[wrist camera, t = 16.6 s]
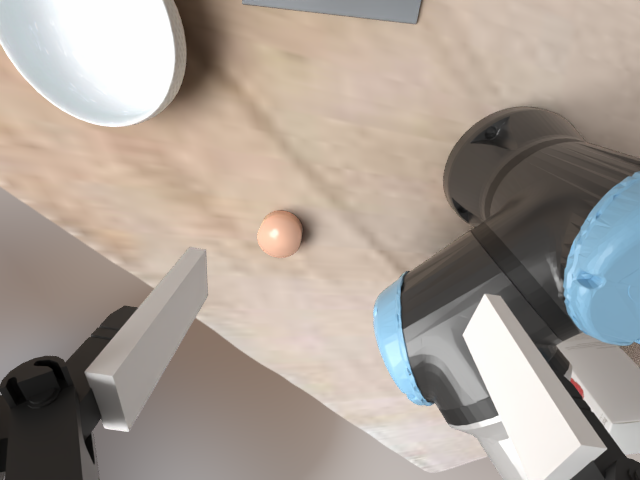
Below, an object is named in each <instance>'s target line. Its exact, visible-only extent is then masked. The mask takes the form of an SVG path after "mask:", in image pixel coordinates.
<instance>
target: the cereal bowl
mask: <svg viewBox="0 0 640 480" xmlns="http://www.w3.org/2000/svg"><path fill="white" fill-rule="evenodd" d="M0 43H1V45H2V47H3V49H4V50H5V52H6V54H7V55H8V57H9V58H10V60H11V61H12V63H13V64H14V65H15V67H16V68H17V70H18V71H19V72H20V73H21V74H22V76H23V77H24V78H25V79H26V80H27V81H28V82H29V83H30V84H31V85H32V86H33V87H34V88H35V89H36V90H37V91H38V92H39V93H40V94H41V95H42V96H44V97H45V98H46V99H47V100H48V101H50V102H51V103H52V104H54V105H55V106H57V107H58V108H60V109H61V110H63V111H64V112H66V113H68V114H70V115H72V116H74V117H76V118H78V119H81V120H83V121H86V122H89V123H92V124H96V125H101V126H108V127H122V126H130V125H135V124H138V123H141V122H144V121H146V120H149V119H151V118H152V117H154V116H156V115H157V114H159V113H161V112H162V111H163V110H164V109H165V108H166V107H167V106H168V105H169V104H170V103H171V102H172V100H173V99H174V98H175V96H176V94H177V93H178V91H179V89H180V86H181V84H182V81H183V77H184V75H185V68H186V60H187V59H186V55H187V54H186V50H187V49H186V41H185V35H184V29H183V25H182V20H181V18H180V15H179V12H178V9H177V7H176V5H175V2H174V0H0Z"/></svg>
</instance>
